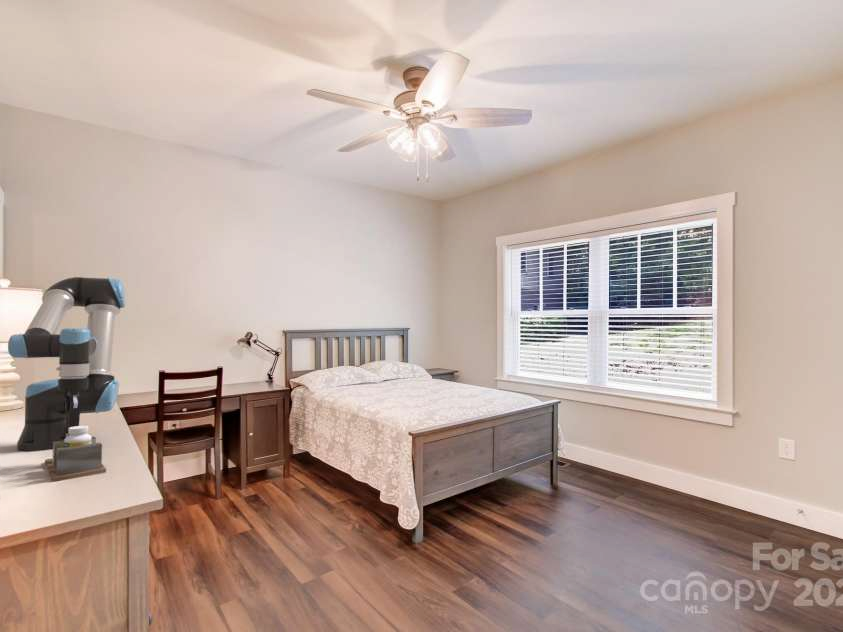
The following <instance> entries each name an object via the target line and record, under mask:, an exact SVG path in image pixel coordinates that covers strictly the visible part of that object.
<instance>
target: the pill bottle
mask: <svg viewBox="0 0 843 632" xmlns="http://www.w3.org/2000/svg"><path fill="white" fill-rule="evenodd" d="M88 432H89V425H79V426H75V427H70V428H69V429H68V433H69V436H68V437H66V438H65V440H64V448H65V447H72V446H79V445H86V444H91V442H92V437H93V436H92V435H90V434H89V433H88Z"/></svg>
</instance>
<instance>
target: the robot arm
mask: <svg viewBox="0 0 843 632" xmlns="http://www.w3.org/2000/svg"><path fill="white" fill-rule="evenodd" d="M41 300H42V303H41V305H40V306H39V308H38V310H37V311H36V313H35V315H34V317H33V318H32V320H31V321H30V324H29V325H28V327H27V329H26V330H25V332H24V333H19V334H13V335H11V336H10V337H9V339H8V342H7V349H8V350H7V351H8V354H9V356H10V357H12V358H16V359H17V358H18V359H21V358H22V359H32V358H33V359H34V358H35V359H39V358H58V360H59V361H58V366H59V367H56V369H55V370H56V371H58V378H55V379H48V380H43V381H38V382H37V381H36V382H33V383H30V384H29V385H27V387H26V388H25V389H26V391H25V396H24V398H25V400H24V401H25V403H24V406H25V407H24V427H23V428H22V432H21V433H20V436H19V438H18V439H17V443H16V444H17V446H16V448H17V450H18V451H28V452H30V451H40V450H41V451H42V450H49V449H53V442H58V441H64V440H65V438H66V437H68V436H69V433H68V429H69V428H70V427H75V426H80V417H81V416H80V415H81V414H94V413H95V414H99V413H106V412H111V411H112V410H113V409H114V407H115V404H116V402H117V399H118V394H119V387H120V383H119V381H118V380H116V379H115V375H113V373H112V372H111V366H112V356H113V354H112V353H113V343H114V331H115V321H116V315H119V313H120V312H121V309H124V308H125V307H126V297H125V289H124V285H123V282H122V281H121V280H119V279H115V278H101V277H99V278H98V277H81V276H74V277H68V278H65V279H62V280H60V281H57V282H55V283H54V284H52V285H51V286H49V287H48V288H47V289H46V290H45V292H44V293H43V295H42V297H41ZM74 307H81V308H84V311H85V312H86V313H87V314H88V318H87V326H86V328H62V329H61V330H60V334H59V333H58V334H56V333H57V331H58V330H59V328H60V325H61V323H62V321H63V319H64V318H65V315H66V313H67V312H68V311H69V310H71V309H72V308H74ZM59 377H60V378H59Z"/></svg>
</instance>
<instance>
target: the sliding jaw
mask: <svg viewBox="0 0 843 632" xmlns="http://www.w3.org/2000/svg"><path fill="white" fill-rule="evenodd" d="M91 437H92V442H91V444H94V443H97V437H96V436H91ZM58 448H64V441H58V442H53V448H52V458H53V462H52V466H53V468H56V457H57V449H58Z"/></svg>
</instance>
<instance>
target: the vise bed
mask: <svg viewBox="0 0 843 632" xmlns="http://www.w3.org/2000/svg"><path fill="white" fill-rule="evenodd" d="M102 450H103V444H102V443H101V442H96V443H94V444H86V445H79V446H72V447H65V448H58V449H57V457H56V468H53V466H52V462H53V457H52V458H47V459H44V464H45V466H46V470H47V471H48V473H49V476H50V479H51V481H52V482H58V481H59V482H60V481H65V480H71V479H77V478H82V477H87V476H92V475H97V474H102V473H107V468H106V466H105V465H104V464H103V463H102V461H103V460H102V459H103V456H102V455H103V451H102Z"/></svg>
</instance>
